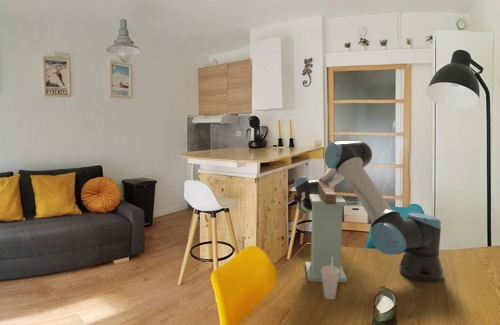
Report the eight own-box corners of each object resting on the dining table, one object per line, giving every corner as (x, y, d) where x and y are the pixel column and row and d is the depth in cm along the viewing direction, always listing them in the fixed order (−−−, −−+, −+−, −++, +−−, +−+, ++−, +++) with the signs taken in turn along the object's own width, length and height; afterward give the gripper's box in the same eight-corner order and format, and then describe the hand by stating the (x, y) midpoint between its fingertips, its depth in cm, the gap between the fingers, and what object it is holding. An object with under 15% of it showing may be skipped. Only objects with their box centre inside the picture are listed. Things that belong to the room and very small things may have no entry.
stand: (305, 265, 140) (306, 193, 137) (340, 266, 139) (342, 194, 136) (308, 281, 127) (309, 201, 123) (346, 282, 125) (349, 202, 122)
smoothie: (339, 302, 112) (341, 261, 110) (319, 300, 113) (320, 259, 111) (338, 292, 118) (340, 253, 116) (319, 291, 119) (320, 252, 117)
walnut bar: (317, 189, 145) (317, 181, 145) (326, 189, 145) (326, 181, 145) (325, 204, 120) (325, 194, 119) (335, 204, 119) (336, 194, 119)
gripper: (334, 211, 172) (347, 205, 152) (285, 209, 172) (291, 202, 151) (334, 197, 174) (346, 189, 154) (285, 194, 174) (291, 186, 153)
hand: (319, 195), depth 152 cm, fingers open, 13 cm apart
